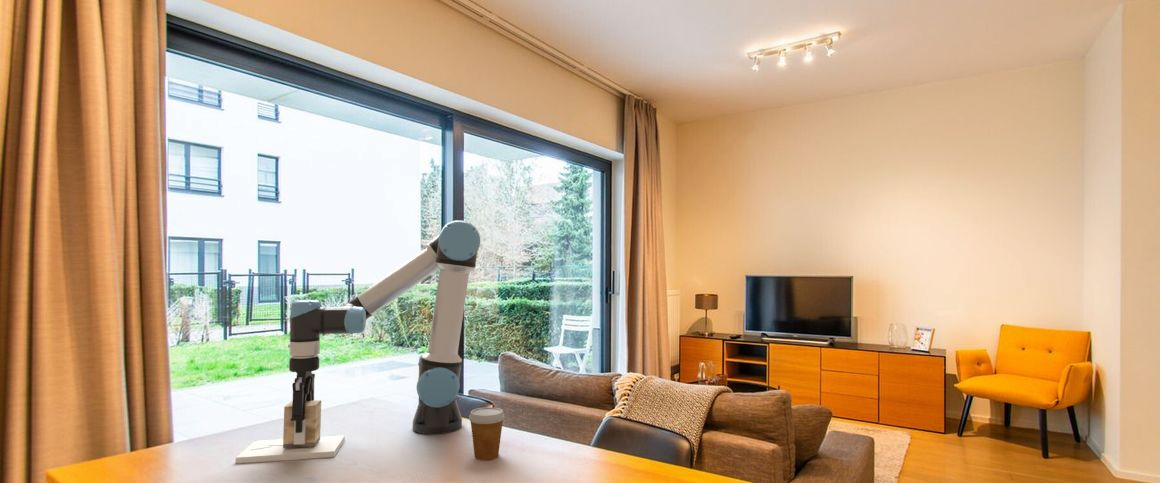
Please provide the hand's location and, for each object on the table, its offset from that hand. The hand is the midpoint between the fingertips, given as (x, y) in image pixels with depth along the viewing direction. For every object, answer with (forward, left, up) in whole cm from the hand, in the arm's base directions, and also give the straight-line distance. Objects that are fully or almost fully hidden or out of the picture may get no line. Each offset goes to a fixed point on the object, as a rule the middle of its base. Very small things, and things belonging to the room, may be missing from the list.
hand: (302, 439), depth 158 cm
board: (+2, 0, -3) cm, 4 cm away
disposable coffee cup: (-50, +15, -3) cm, 52 cm away
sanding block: (0, 0, -1) cm, 1 cm away
